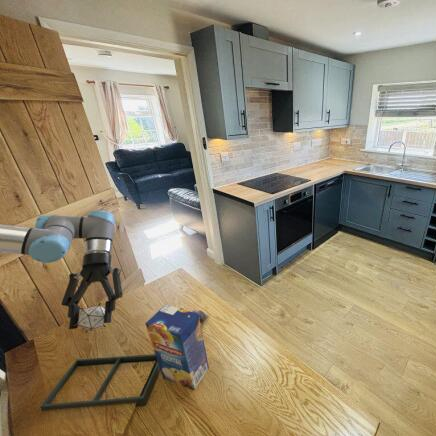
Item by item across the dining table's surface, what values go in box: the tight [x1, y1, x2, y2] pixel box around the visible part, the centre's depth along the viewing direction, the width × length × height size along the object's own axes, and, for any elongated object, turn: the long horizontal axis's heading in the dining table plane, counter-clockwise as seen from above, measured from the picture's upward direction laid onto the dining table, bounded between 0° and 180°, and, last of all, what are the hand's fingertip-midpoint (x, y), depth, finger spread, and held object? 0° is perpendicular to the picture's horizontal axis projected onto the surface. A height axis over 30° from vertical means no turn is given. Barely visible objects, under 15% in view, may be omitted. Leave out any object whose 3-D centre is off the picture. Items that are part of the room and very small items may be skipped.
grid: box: [39, 353, 161, 412], centre depth 73 cm, size 27×14×4 cm, turn 95°
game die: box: [74, 302, 107, 334], centre depth 76 cm, size 9×8×10 cm
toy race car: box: [179, 307, 207, 325], centre depth 93 cm, size 10×15×6 cm, turn 69°
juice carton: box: [145, 304, 210, 391], centre depth 72 cm, size 12×8×24 cm, turn 72°
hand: (90, 325), depth 74 cm, fingers closed on game die, 8 cm apart
